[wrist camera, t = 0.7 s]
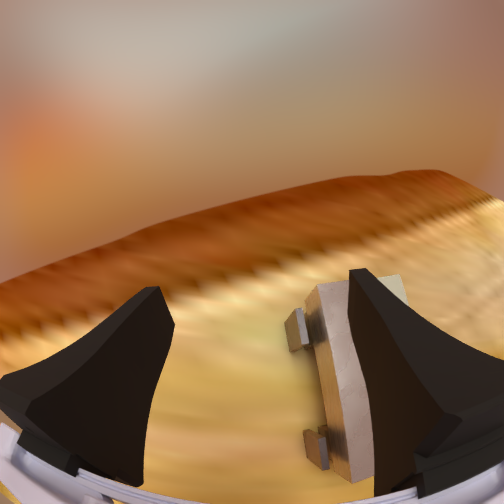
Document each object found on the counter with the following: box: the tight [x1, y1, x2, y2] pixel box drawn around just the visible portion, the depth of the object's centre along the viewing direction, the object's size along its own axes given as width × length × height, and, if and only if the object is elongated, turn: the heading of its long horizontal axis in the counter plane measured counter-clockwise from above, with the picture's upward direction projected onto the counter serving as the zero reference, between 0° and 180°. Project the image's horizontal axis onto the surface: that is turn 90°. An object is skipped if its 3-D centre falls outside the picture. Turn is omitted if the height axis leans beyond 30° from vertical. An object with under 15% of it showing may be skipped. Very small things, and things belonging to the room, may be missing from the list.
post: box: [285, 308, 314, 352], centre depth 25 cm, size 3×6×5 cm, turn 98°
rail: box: [305, 280, 374, 483], centre depth 19 cm, size 16×3×4 cm, turn 8°
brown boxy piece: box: [303, 425, 333, 471], centre depth 20 cm, size 3×6×5 cm, turn 98°
